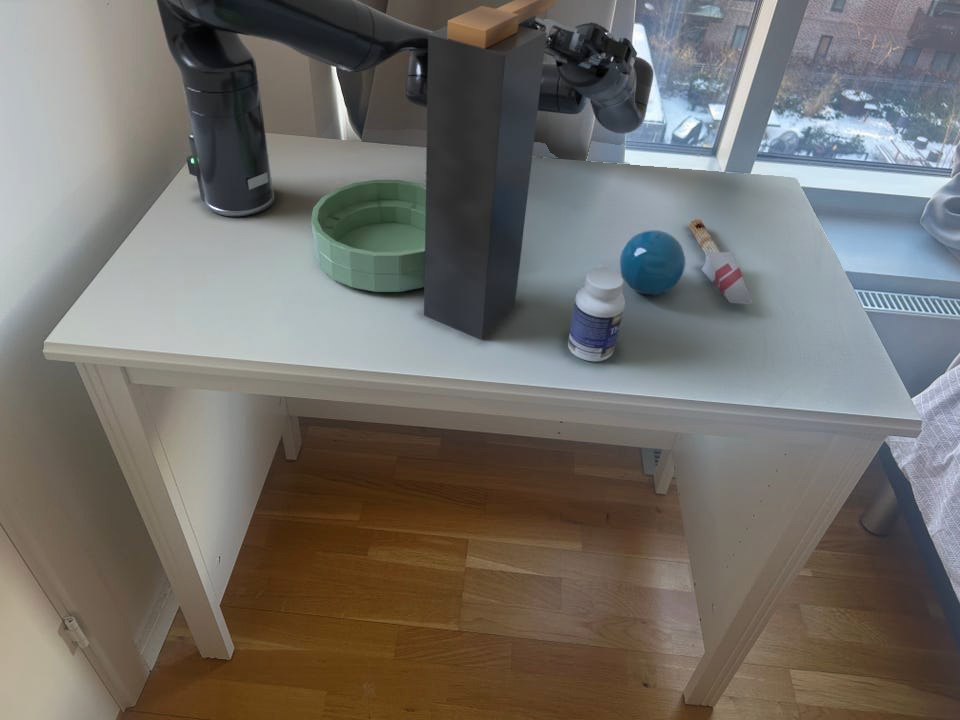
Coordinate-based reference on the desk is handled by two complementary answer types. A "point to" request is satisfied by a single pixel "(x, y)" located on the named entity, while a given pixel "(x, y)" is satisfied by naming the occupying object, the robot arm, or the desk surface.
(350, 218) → the bowl
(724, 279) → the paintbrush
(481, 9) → the wooden spatula
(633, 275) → the ball
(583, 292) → the pill bottle
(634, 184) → the desk surface
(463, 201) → the pedestal
